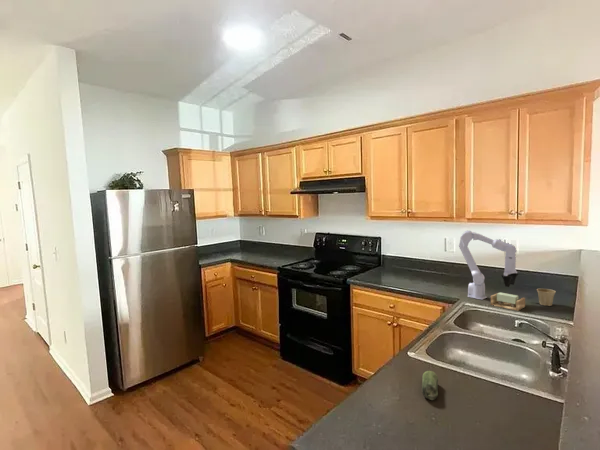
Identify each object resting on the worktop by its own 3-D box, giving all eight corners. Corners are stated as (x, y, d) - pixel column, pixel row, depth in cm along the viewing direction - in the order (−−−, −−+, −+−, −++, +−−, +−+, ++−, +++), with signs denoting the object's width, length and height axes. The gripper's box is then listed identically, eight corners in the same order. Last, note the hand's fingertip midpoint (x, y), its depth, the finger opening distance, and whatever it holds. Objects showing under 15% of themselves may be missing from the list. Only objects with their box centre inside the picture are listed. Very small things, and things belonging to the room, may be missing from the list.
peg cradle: (490, 304, 206) (490, 296, 206) (497, 301, 213) (498, 292, 213) (518, 310, 195) (518, 301, 194) (525, 306, 201) (525, 297, 201)
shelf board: (496, 300, 205) (496, 293, 205) (500, 298, 208) (500, 292, 208) (515, 304, 197) (515, 297, 197) (518, 302, 201) (518, 295, 200)
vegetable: (422, 380, 124) (422, 367, 123) (437, 382, 122) (438, 369, 121) (421, 401, 111) (421, 387, 110) (438, 405, 109) (438, 390, 108)
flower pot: (536, 301, 212) (537, 287, 211) (555, 303, 206) (556, 289, 205) (535, 305, 204) (535, 290, 204) (554, 308, 198) (555, 293, 198)
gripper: (512, 266, 204) (512, 288, 205) (521, 263, 213) (521, 284, 214) (500, 264, 209) (499, 286, 210) (509, 261, 218) (508, 282, 219)
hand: (509, 285), depth 212 cm, fingers open, 7 cm apart
